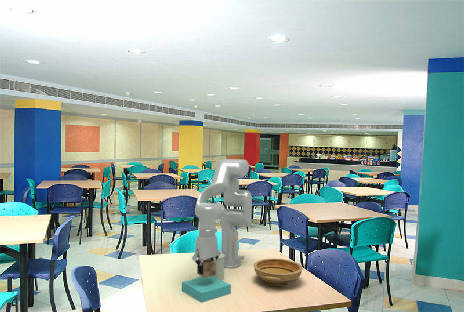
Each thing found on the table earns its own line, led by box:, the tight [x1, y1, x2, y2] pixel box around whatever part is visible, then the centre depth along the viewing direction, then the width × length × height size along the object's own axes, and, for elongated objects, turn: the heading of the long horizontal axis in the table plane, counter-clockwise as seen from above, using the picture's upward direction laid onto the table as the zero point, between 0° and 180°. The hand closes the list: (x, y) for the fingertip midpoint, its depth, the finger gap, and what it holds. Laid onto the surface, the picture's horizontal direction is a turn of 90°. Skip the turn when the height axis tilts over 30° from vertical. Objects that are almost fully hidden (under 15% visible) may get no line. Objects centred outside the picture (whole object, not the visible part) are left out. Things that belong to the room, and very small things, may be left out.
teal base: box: [181, 276, 232, 303], centre depth 166 cm, size 16×16×4 cm
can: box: [208, 254, 225, 281], centre depth 184 cm, size 9×9×12 cm
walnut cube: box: [196, 259, 216, 278], centre depth 165 cm, size 6×6×6 cm
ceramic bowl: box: [253, 258, 304, 287], centre depth 180 cm, size 30×24×8 cm
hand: (206, 271), depth 165 cm, fingers closed on walnut cube, 6 cm apart
